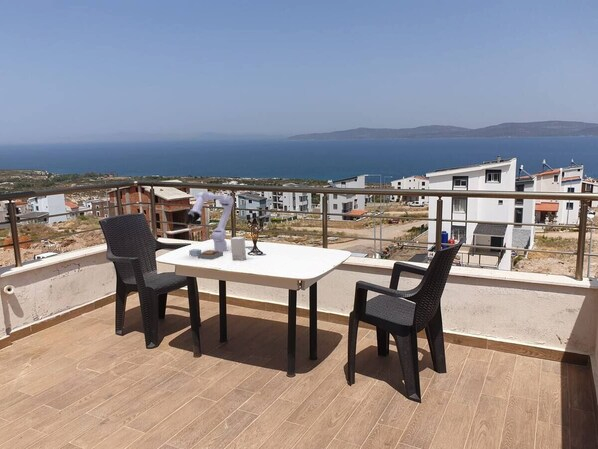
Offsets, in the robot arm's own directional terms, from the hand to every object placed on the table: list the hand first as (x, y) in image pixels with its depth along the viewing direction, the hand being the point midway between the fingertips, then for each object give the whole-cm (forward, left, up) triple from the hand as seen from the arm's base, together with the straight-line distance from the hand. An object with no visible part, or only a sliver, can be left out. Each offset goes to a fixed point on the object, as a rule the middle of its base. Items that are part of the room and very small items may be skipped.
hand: (189, 223), depth 304 cm
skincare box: (-14, +30, -27) cm, 43 cm away
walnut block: (-10, +8, -26) cm, 29 cm away
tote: (-10, +8, -26) cm, 29 cm away
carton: (-10, -6, -27) cm, 29 cm away
